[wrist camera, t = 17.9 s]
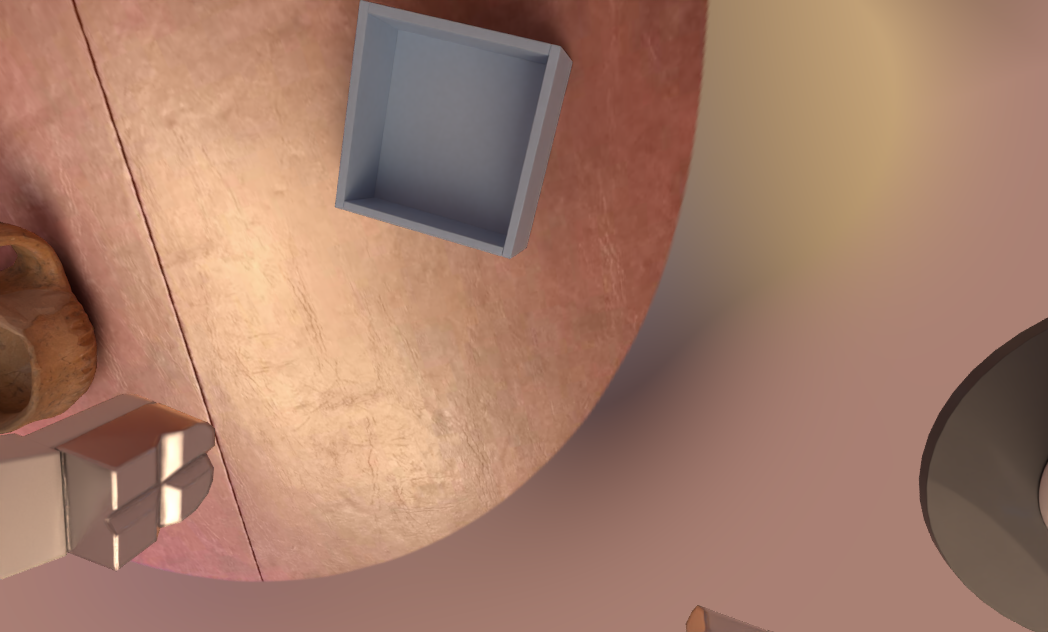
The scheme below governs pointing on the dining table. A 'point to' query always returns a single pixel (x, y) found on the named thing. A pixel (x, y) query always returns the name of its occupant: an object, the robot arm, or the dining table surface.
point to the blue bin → (449, 127)
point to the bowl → (40, 335)
